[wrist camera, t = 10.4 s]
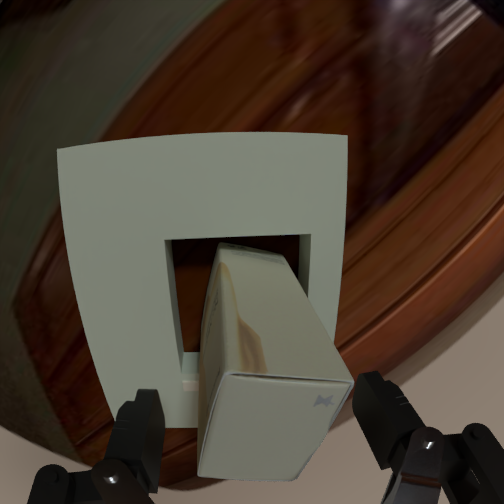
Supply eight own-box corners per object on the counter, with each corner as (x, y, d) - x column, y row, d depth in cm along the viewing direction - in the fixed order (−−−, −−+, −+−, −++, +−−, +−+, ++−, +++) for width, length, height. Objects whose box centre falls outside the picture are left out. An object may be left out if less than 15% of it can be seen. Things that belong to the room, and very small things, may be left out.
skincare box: (217, 239, 20) (222, 361, 8) (284, 253, 21) (363, 374, 9) (199, 328, 22) (193, 481, 10) (260, 338, 22) (297, 485, 11)
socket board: (331, 136, 19) (348, 135, 16) (313, 396, 25) (322, 418, 22) (74, 148, 17) (55, 149, 14) (122, 404, 23) (116, 426, 20)
